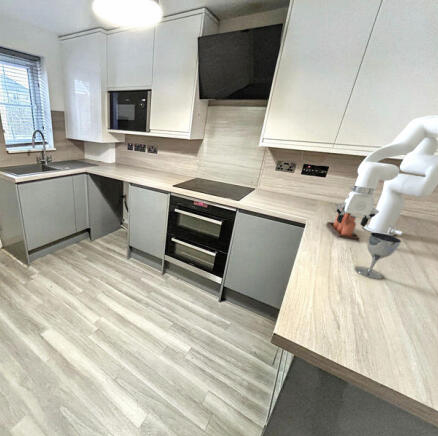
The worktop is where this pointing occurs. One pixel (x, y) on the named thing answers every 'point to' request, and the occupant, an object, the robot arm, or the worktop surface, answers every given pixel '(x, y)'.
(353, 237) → the tray
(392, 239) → the wine glass
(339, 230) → the tray bottle
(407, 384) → the worktop surface
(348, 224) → the loose bottle
